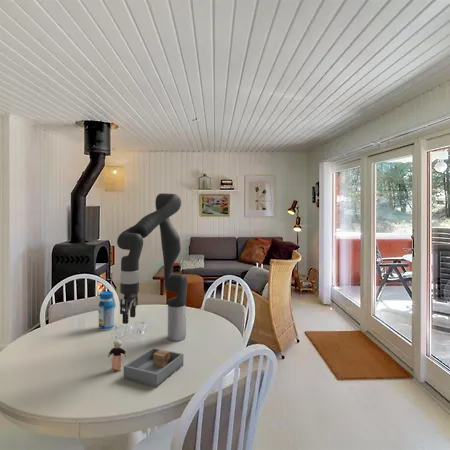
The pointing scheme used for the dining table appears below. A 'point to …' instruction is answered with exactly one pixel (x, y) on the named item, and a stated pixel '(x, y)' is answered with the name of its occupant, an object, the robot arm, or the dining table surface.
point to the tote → (151, 368)
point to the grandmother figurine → (117, 355)
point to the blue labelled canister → (106, 311)
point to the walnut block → (161, 358)
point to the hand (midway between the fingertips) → (129, 320)
